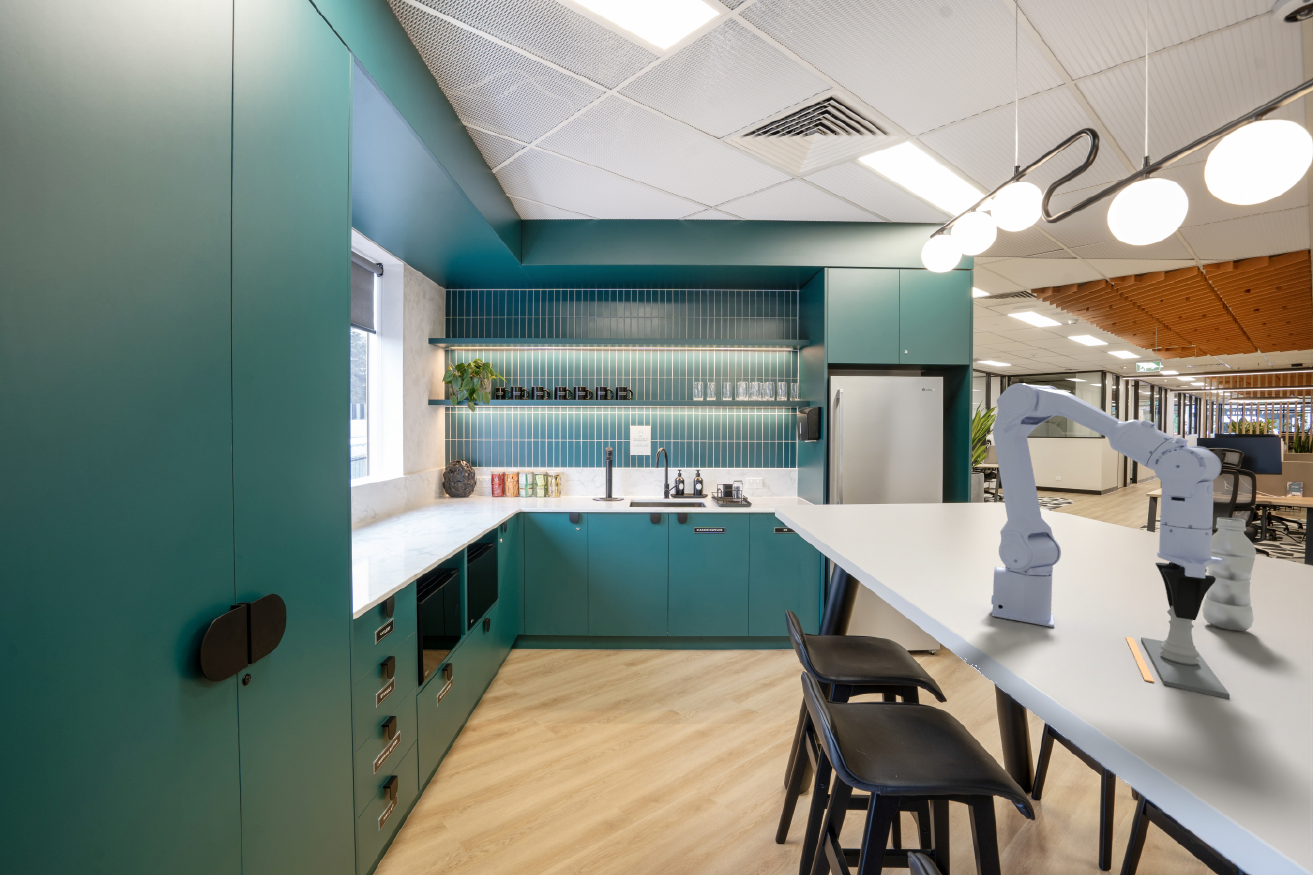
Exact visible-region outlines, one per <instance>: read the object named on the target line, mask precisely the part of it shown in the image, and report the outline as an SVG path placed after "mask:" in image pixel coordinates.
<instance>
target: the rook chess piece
mask: <svg viewBox="0 0 1313 875" xmlns="http://www.w3.org/2000/svg"><path fill="white" fill-rule="evenodd" d="M1167 614H1168V615H1169V617H1170V619H1169V620H1168V623H1169V624H1170V625H1169V632H1168V634H1167V635H1168V636H1167V638H1166V639H1165V640H1164V641H1165V642H1164V643H1162V645H1161V649H1162V651H1160V654H1161V656H1162V657H1163V658H1165V659H1167V660H1169V661H1172V662H1175V663H1179V664H1184V665H1196V664H1198V663H1199V660H1198V659H1197V657H1199V654H1200V652H1199V650H1197V649H1196V645H1195V644H1194V640H1193V634H1192V633H1193V628H1195V626H1194V625H1193V621H1194V620H1189V619H1183V618H1177V617H1176V615H1175V613H1174V609H1173V606H1171V609H1170V608H1169V609H1168V610H1167Z"/></svg>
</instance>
